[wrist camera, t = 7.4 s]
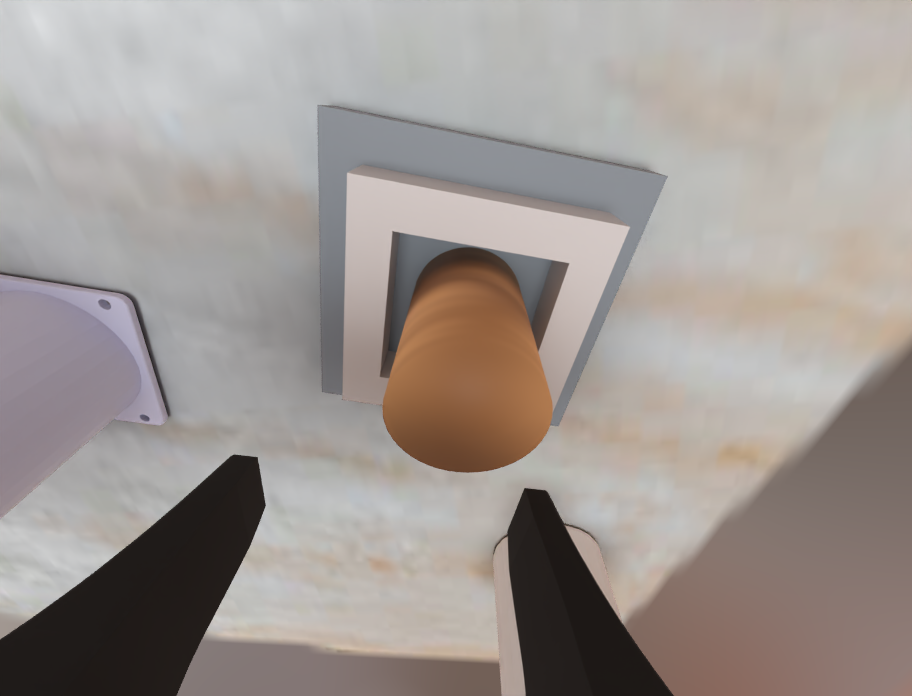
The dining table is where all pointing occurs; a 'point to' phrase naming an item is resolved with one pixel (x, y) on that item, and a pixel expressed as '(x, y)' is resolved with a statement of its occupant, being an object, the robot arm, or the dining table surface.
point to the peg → (467, 368)
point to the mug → (506, 614)
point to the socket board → (465, 238)
